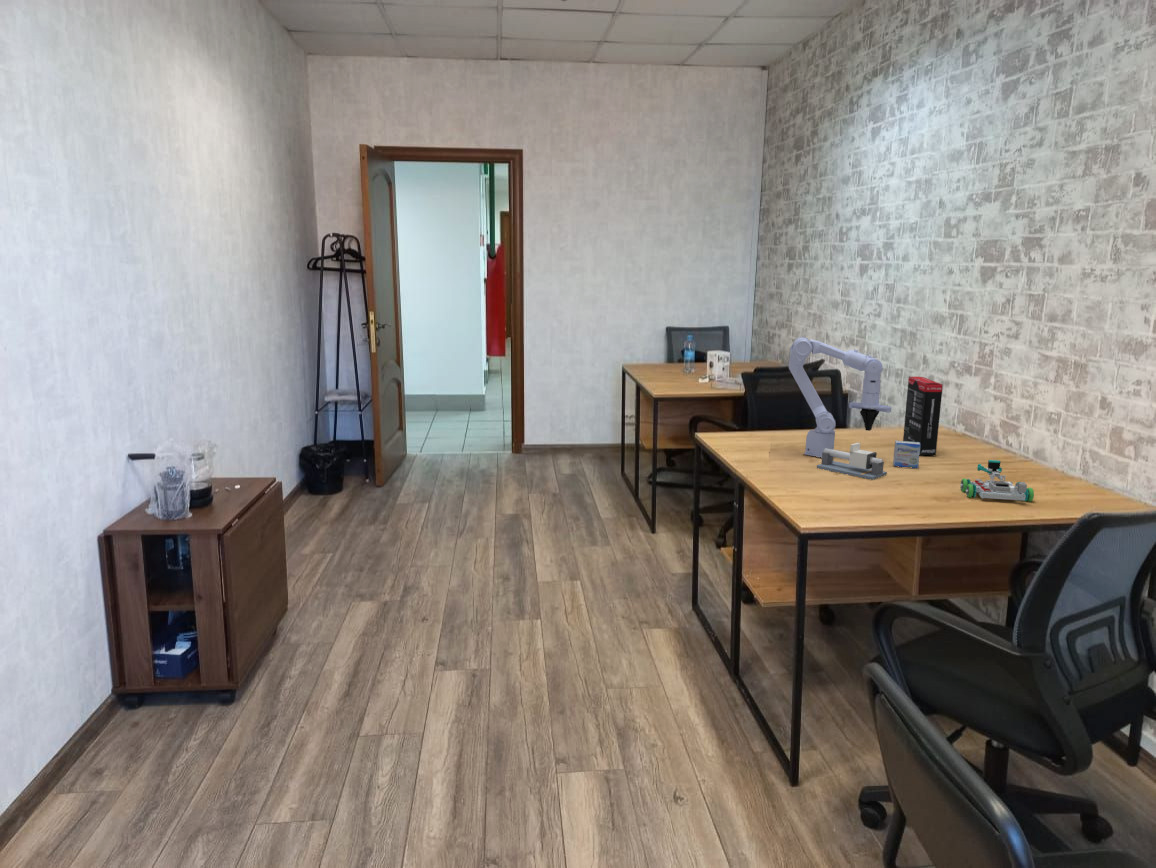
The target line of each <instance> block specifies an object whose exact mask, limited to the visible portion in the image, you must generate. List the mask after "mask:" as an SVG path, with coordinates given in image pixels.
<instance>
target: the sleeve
mask: <svg viewBox="0 0 1156 868" xmlns="http://www.w3.org/2000/svg"><path fill="white" fill-rule="evenodd" d="M849 446H850V449H849V453H850V457H849V460H848V464H849V465H850V466H855V467H860V468H865V469H866V464H867V455H868V454H870V453H873V452H874V451H869V450H863V449H861V442H855V443H852V444H850V445H849ZM871 457H873V456H871ZM870 465H872V464H870Z"/></svg>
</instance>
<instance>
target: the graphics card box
mask: <svg viewBox="0 0 1156 868" xmlns="http://www.w3.org/2000/svg"><path fill="white" fill-rule="evenodd" d="M943 388H944V386H943V384H942V383H940V382H937V381H934V380H932V379H929V378H927V377H923V376H908V380H907V390H906V391H907V392H906V402H905V403H906V404H905V414H904V424H903V425H904V427H903V436H902V441H908V442H919V443H920V445H921V446H920V455H937V448H938V438H939V437H938V436H939V426H940V417H941V406H942V397H943V396H942V395H943Z"/></svg>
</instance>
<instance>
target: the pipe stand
mask: <svg viewBox="0 0 1156 868" xmlns="http://www.w3.org/2000/svg"><path fill="white" fill-rule="evenodd" d="M849 457H850V452H846V451H843V450H836V449H834V450H832V449H827V448H825V449H824V452H823V453H822V458H821V463H820V464H817V465H816V469H818V468H819V469H818V470H823V469H824V471H828V470H829V472H832V471H833V472H832V473H837V472H839V473H838V474H841V473H843V475H846V474H848V475H847V476H851V475H853V476H852V477H855V476H858V477H857V478H860V477H862V478H861V479H865V478H866V479H865V480H869V479H871V480H870V481H873V479H874V480H877V479H879V478H882V477H884V475H885V476H887V475H886V474H888V472H887V471H884V465H885V461H884V460H883V458H879V457H876V458H874V457H870V464H872V468H871V469H865V468H860V467H855V466H850V465H849V463H847V462H846V463H845V462H841V461H837V460H836V461H835V460H834V458H838V459H843V460H848V461H849ZM881 476H882V477H881ZM878 477H879V478H878ZM876 478H877V479H876Z"/></svg>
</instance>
